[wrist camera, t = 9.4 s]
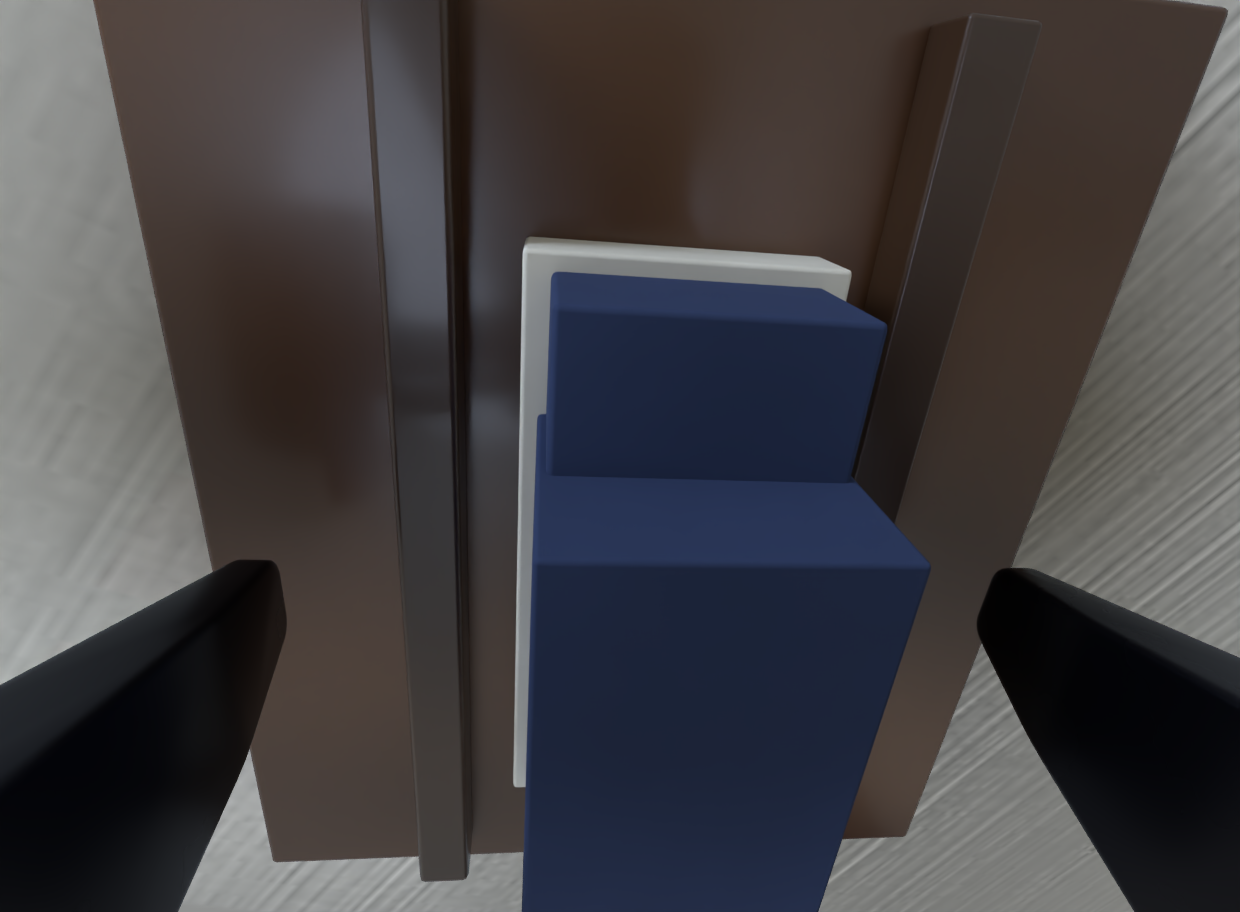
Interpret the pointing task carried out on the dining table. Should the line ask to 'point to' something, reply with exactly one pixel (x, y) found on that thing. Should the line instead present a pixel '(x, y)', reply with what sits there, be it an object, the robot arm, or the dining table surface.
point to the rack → (608, 212)
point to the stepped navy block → (696, 577)
